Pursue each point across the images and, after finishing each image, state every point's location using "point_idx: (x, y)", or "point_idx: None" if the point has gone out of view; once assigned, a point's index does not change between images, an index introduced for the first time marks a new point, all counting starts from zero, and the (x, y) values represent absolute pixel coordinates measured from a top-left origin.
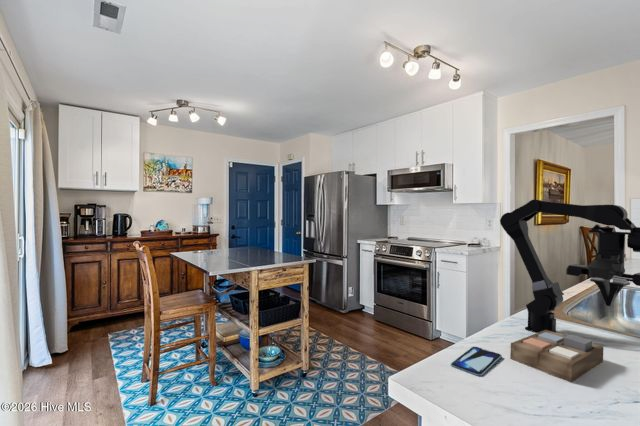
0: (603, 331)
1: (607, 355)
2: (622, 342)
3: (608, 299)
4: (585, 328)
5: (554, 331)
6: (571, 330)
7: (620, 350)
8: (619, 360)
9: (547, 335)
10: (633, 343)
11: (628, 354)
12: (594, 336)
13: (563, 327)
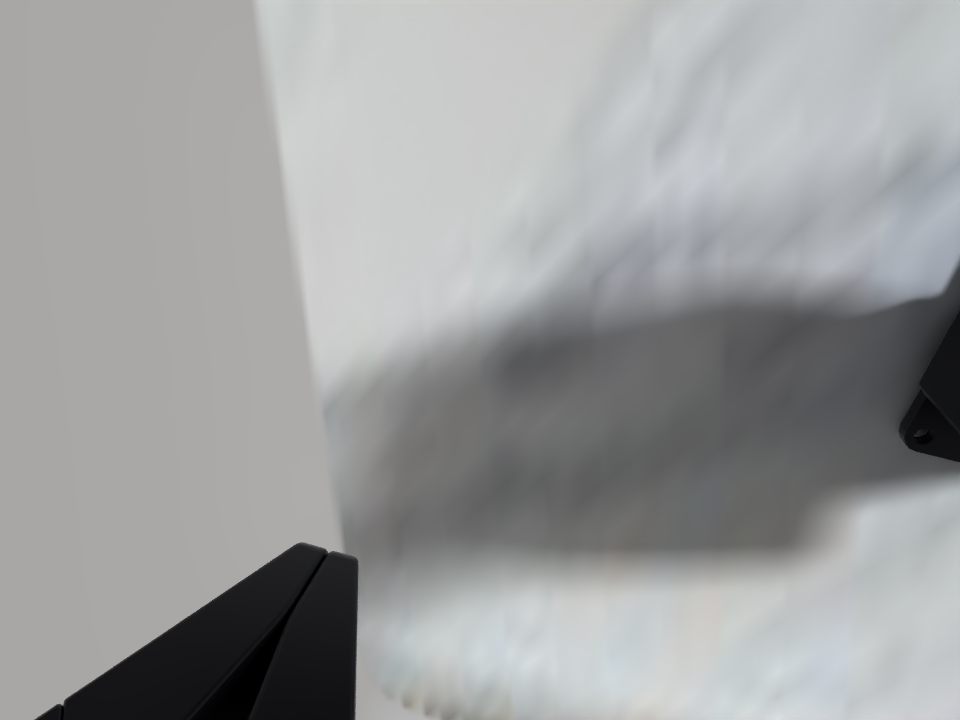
0: (534, 697)
1: (455, 78)
2: (406, 537)
3: (255, 635)
4: (650, 692)
5: (937, 358)
6: (754, 580)
7: (392, 327)
8: (360, 14)
9: None
10: None
11: (334, 269)
12: (582, 544)
13: (818, 618)
